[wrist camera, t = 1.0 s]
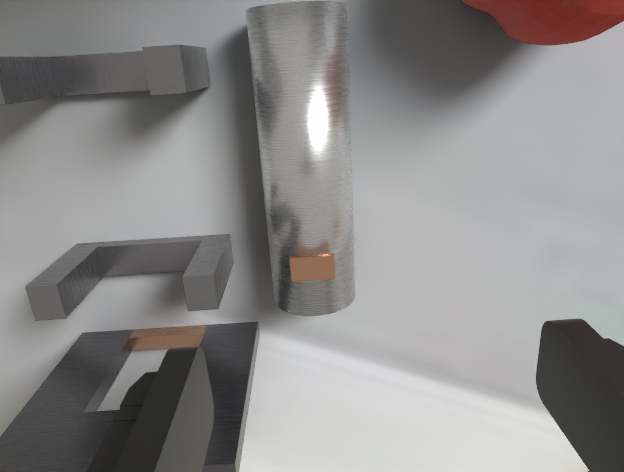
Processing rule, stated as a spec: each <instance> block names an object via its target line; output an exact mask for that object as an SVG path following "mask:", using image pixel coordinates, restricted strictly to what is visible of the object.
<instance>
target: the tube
mask: <svg viewBox="0 0 624 472" xmlns="http://www.w3.org/2000/svg"><path fill="white" fill-rule="evenodd" d="M246 18H247V28H248V38H249V49H250V59H251V69H252V79H253V89H254V99H255V110H256V120H257V130H258V140H259V150H260V160H261V170H262V181H263V191H264V201H265V211H266V221H267V231H268V242H269V252H270V262H271V272H272V282H273V292H274V301H275V303H276V305H277V306H278V307H279V308H280V309H282V310H284V311H286V312H288V313H292V314H296V315H303V316H319V315H326V314H330V313H334V312H337V311H340V310H342V309H344V308H346V307H347V306H349V305H350V304H351V303H352V302H353V300H354V298H355V264H354V230H353V195H352V160H351V126H350V91H349V56H348V22H347V4H346V3H344V2H335V1H307V2H290V3H278V4H270V5H262V6H257V7H252V8H249V9H246Z"/></svg>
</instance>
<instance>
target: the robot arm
mask: <svg viewBox="0 0 624 472" xmlns="http://www.w3.org/2000/svg"><path fill="white" fill-rule="evenodd" d="M536 384H537V389H538V393H539V396H540V398H541V400H542V402H543V404H544V405H545V407H546V408H547V410H548V411H549V413H550V414H551V416H552V417H553V418H554V420H555V421H556V423H557V424H558V426H559V427H560V429H561V430H562V432H563V433H564V434H565V436H566V437H567V439H568V440H569V442H570V443H571V445H572V446H573V447H574V449H575V450H576V452H577V453H578V455H579V456H580V458H581V459H582V461H583V462H584V463H585V465H586V466H587V468H588V469H589V471H590V472H624V346H622V345H620V344H618V343H617V342H615V341H613V340H611V339H609V338H608V339H603V338H602V337H601V336H600V335H599V334H598V333H597V332H596V331H595V330H594V329H593V328H592V327H591V326H590V325H589V324H588V323H586V322H585V321H584V320H582V319H567V320H554V321H546V322H545V323H544V324H543V327H542V331H541V339H540V347H539V355H538V363H537V372H536ZM213 420H214V403H213V396H212V391H211V386H210V381H209V375H208V370H207V365H206V360H205V355H204V351H203V349H202V347H190V348H177V349H169V350H168V351H167V352H166V354H165V357H164V359H163V361H162V363H161V366H160V368H159V370H158V372H148V373H145V374H144V375H143V376H142V377H141V378H140V379H139V380H138V381H137V382H135V383H134V384H133V385H132V386H131V387H130V388H129V390H128V392H127V394H126V396H125V398H124V399H123V401H122V403H121V405H120V410H118V411H117V413H116V415H115V417H114V419H113V424H112V425H110V427H109V429H108V431H107V433H106V435H105V437H104V438H103V440H102V442H101V444H100V446H99V448H98V450H97V452H96V454H95V456H94V458H93V460H92V462H91V464H90V466H89V468H88V470H87V472H202V469H203V465H204V461H205V457H206V452H207V448H208V444H209V440H210V436H211V431H212V427H213Z"/></svg>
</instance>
